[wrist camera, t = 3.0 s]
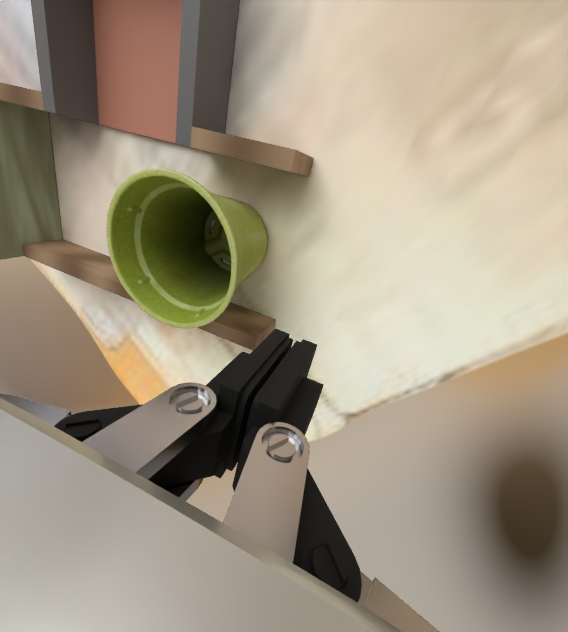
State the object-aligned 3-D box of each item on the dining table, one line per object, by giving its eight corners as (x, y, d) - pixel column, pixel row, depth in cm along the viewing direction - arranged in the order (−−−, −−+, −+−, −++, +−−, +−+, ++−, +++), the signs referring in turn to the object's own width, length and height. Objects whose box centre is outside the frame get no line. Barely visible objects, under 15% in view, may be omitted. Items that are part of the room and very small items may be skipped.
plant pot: (306, 206, 22) (257, 210, 15) (266, 309, 27) (213, 353, 19) (204, 159, 24) (111, 141, 16) (182, 264, 28) (101, 288, 21)
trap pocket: (247, -71, 18) (209, -137, 14) (222, 154, 23) (190, 147, 20) (79, -79, 21) (14, -134, 17) (91, 122, 26) (44, 110, 23)
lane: (313, 158, 21) (284, 144, 16) (272, 331, 27) (242, 362, 22) (36, 93, 27) (-51, 68, 22) (56, 246, 33) (-9, 255, 28)
